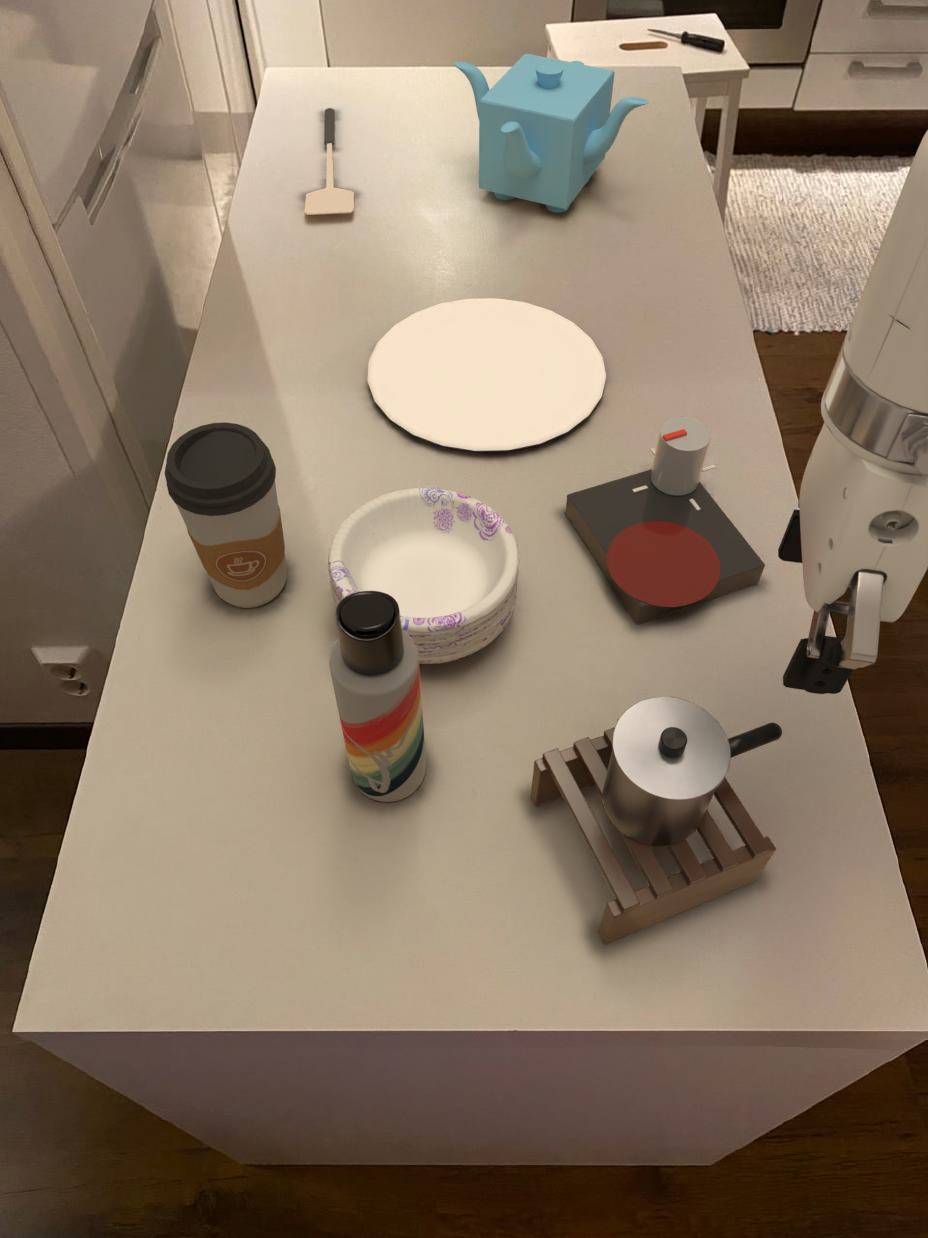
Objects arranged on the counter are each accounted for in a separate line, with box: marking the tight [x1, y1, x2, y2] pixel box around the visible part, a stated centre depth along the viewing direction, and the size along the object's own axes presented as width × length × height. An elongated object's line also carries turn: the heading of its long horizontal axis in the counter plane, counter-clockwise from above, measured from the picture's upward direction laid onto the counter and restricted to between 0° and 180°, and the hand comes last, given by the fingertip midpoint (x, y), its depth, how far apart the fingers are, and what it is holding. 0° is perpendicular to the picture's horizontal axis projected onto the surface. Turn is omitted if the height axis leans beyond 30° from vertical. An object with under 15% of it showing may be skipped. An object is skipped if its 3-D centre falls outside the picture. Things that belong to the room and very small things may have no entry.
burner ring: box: [607, 521, 720, 607], centre depth 81 cm, size 10×10×1 cm
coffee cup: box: [164, 421, 288, 609], centre depth 77 cm, size 8×8×15 cm
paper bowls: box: [327, 487, 521, 665], centre depth 78 cm, size 15×15×8 cm
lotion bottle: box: [328, 591, 427, 803], centre depth 64 cm, size 6×6×20 cm
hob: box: [564, 447, 766, 626], centre depth 85 cm, size 14×16×3 cm
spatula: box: [303, 107, 355, 216], centre depth 126 cm, size 6×29×2 cm, turn 5°
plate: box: [367, 297, 607, 453], centre depth 99 cm, size 25×25×1 cm
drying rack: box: [530, 726, 777, 946], centre depth 66 cm, size 12×12×6 cm
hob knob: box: [651, 416, 712, 496], centre depth 85 cm, size 4×4×6 cm
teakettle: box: [453, 53, 650, 213], centre depth 117 cm, size 19×19×15 cm
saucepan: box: [602, 696, 783, 847], centre depth 61 cm, size 7×13×8 cm, turn 112°
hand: (806, 619), depth 57 cm, fingers open, 9 cm apart
